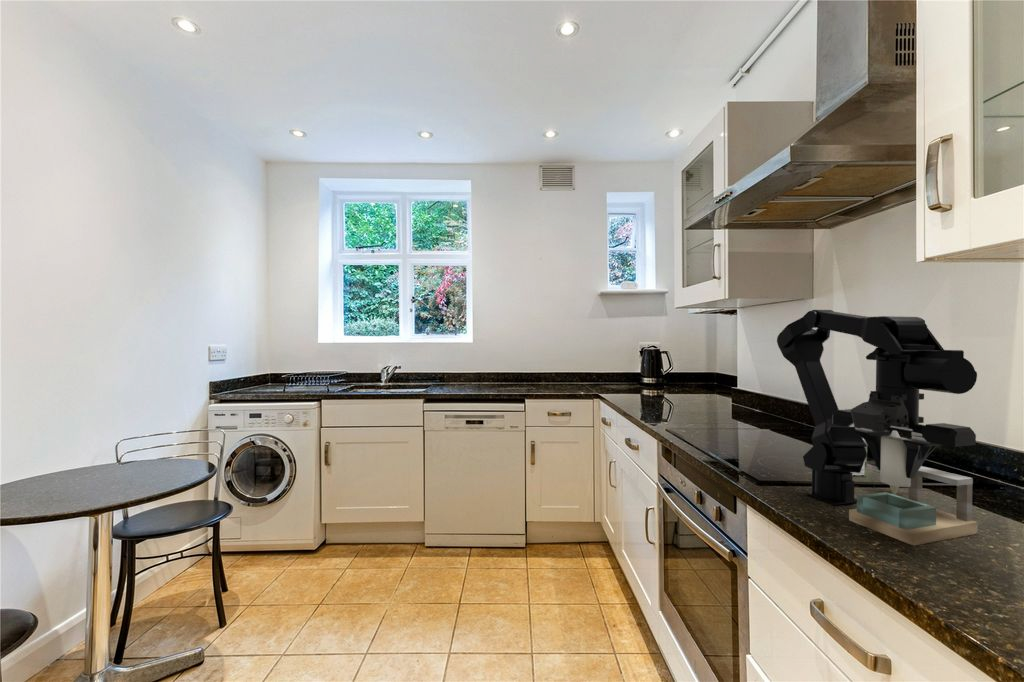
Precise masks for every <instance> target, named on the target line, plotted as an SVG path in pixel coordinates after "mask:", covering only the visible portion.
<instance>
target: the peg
mask: <svg viewBox="0 0 1024 682" xmlns="http://www.w3.org/2000/svg"><path fill="white" fill-rule="evenodd" d="M905 439H908V438H906V437H901V436H900V437H895V436H881V462H880V470H879V472H880V474H879V475H880V476H879V481H880V482H881V483H883V484H886V485H889V486H890V485H893V486H898V487H899V488H909V487H910V486H911V478H907V476H906V457H907V447H906V446H905V444H904V442H903V440H905Z"/></svg>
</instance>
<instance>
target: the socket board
mask: <svg viewBox="0 0 1024 682" xmlns="http://www.w3.org/2000/svg"><path fill="white" fill-rule="evenodd" d="M923 478H926V479H929V480H933V481H937V482H941V483H946V484H948V485H949V484H950V485H953V486H956V515H955V514H952V513H949V512H946V511H942V510H940V509H937V507H935V506H933V505H929V504H928V503H927V504H926V503H924V502H923ZM973 484H974V479H973V477H969V476H965V475H961V474H957V473H951V472H947V471H944V470H939V469H937V468H933V467H927V466H923V465H921V467H920V468H919V470H918V471H917V473H916V474H915V476H914V477H913V478H911V486H910V487H908V498H906V497H904V496H900V495H897V494H896V495H894V494H892V492H891V493H889V492H886V491H883V492H876V493H869V494H868V493H867V494H861V495H860V494H859V495H856V499H857V502H856V508H851V509H850V508H849V510H848V521H850V522H852V523H855V524H856V525H860V526H863V527H866V528H867V529H870V530H873V531H875V532H877V533H880V534H884V535H885V536H888V537H891V538H893V539H896V540H899V541H900V542H902V543H903V542H904V543H906V544H908V545H910V546H919V545H924V544H928V543H929V544H930V543H934V542H940V541H945V540H949V539H951V540H952V539H958V538H960V537H966V536H972V535H977V534H978V526H979V525H978V524H979V523H978V521H975V520H973Z"/></svg>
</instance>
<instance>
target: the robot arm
mask: <svg viewBox="0 0 1024 682" xmlns="http://www.w3.org/2000/svg"><path fill="white" fill-rule="evenodd" d="M814 328H815V329H814ZM832 331H833V332H836V333H842V334H846V335H851V336H856V337H859V338H861V339H862V341H863V342H864V343H867V344H869V345H870V346H873V347H875V349H874V350H873V351H872V352H870V353H868V354H867V355H866V356H865V359H866V360H868V361H875V362H876V364H875V390H870V393H869V396H868V397H869V398H868V401H863V402H862V403H860V404H858V405H856V406H854V407H852V408H850V409H847V408H845V409H840V408H839V406H838V404H837V401H836V399H835V396H834V393H833V391H832V388H831V386H830V384H829V381H828V378H827V375H826V373H825V371H824V368H823V364H822V363H821V358H822V355H823V353H824V349H825V348H824V343H825V342H826V341H828V339H830V336H831V332H832ZM776 343H777V346H778V348H779V350H780V352H781V354H782V356H783V358H785V359H786V360H787V361H788V362H789V363H790V364H791V365H793V366H794V367H795V372H796V373H797V377H798V380H799V382H800V386H801V387H802V390H803V394H804V396H805V399H806V402H807V405H808V408H809V411H810V413H811V416H812V418H813V421H814V425H815V426H814V429H813V433H812V435H811V438H810V439H811V443H812V447H810V449H809V450H808V451H807V452H806V453H805V454H804V455H803V456H802V460H803V464H804V467H806V468H809V469H810V470H811V490H810V491H809V490H808V491H806V495H807V496H810V497H813V498H815V499H817V500H821V501H824V502H826V503H829V504H832V505H835V506H837V505H846V504H853V503H857V498H855V481H854V480H853V476H852V473H850V472H856V473H860V471H861V469H862V466H863V463H864V461H865V458H866V457H867V458H868V451H867V452H866V449H865V447H867V448H869V451H870V453H871V455H872V458H873V460H874V463H875V465H876V467H877V468H876V469H878V471H880V462H881V436H890V435H891V431H893V430H894V431H897V432H900V433H905V434H910V435H911V438H907V439H905V440H903V442H904V444H905V446H906V447H907V457H906V476H907V478H913V477H914V476H915V474H916V473H917V471H918V470H919V468H920V467H921V466H923V464H924V462H925V461H926V460H927V458H928V457H929V456H930V454H932V452H933V451H934V450H935V449H936V447H938V446H946V447H951V448H952V447H953V448H957V447H958V448H959V447H970V446H976V445H977V444H976V442H977V441H976V440H977V434H976V433H975V432H974V430H973V429H972V428H971V427H970V426H965V425H959V424H958V425H957V424H952V423H944V422H942V423H927V424H926V423H925V421H924V420H925V418H924V417H923V416H920V414H919V412H920V411H919V410H920V400H925V393H920V390H921V391H922V390H923V391H932V392H939V393H947V394H956V395H961V394H965V393H967V392H970V391H971V390H972V389H973V388H974V386H975V384H976V382H977V378H978V372H977V371H976V370H975V369H976V368H975V367H974V365H973V364H972V362H971V361H970V360H968V359H967V358H964V355H965V353H964V352H965V351H964V350H962V349H945V348H944V347H943V346H942V345H941V343H940V341H938V340H937V338H936V337H935V336H934V334H933V333H932V331H931V330H930V329H929V328H928V325H927V324H926V321H925V319H923V318H922V317H918V316H895V315H894V316H893V315H892V316H890V315H889V316H884V315H881V316H866V315H858V314H854V313H853V314H851V313H844V312H838V311H833V310H832V309H812V310H809V311H807V312H806V313H805V314H804V315H803V316H802V317H801V318H799V319H796V320H795V321H792V322H791V323H789V324H787V325H786V326H785V327H784V328H783V329H782V330H781V331H780V332H779V334H778V335H777V338H776ZM853 423H854V427H849V426H850V425H852V424H853ZM924 423H925V424H924ZM862 438H864V440H865V441H866V443H867V445H866V444H865V442H864V441H863V439H862Z"/></svg>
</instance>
